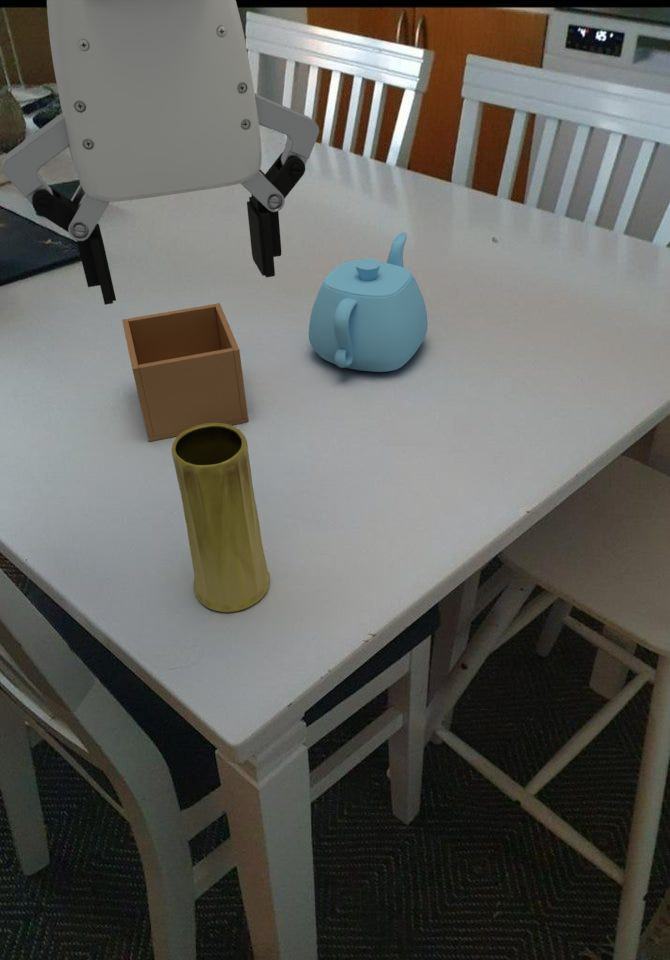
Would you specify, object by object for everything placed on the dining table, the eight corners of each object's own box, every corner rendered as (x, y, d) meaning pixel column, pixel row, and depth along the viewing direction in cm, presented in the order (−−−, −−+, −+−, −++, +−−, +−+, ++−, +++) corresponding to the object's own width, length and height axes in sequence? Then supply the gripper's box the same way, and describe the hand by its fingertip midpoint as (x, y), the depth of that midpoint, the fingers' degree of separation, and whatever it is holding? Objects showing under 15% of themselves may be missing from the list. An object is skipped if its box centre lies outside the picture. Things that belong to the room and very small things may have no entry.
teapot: (455, 235, 91) (394, 305, 79) (450, 320, 98) (393, 397, 85) (353, 220, 95) (280, 283, 83) (355, 302, 102) (288, 372, 90)
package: (148, 441, 81) (132, 368, 75) (137, 389, 88) (121, 319, 83) (248, 421, 83) (239, 349, 77) (229, 372, 90) (219, 302, 85)
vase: (241, 624, 62) (218, 481, 53) (178, 596, 65) (146, 455, 55) (284, 573, 66) (269, 432, 57) (223, 548, 69) (200, 410, 60)
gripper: (288, -70, 43) (305, 237, 54) (-52, -46, 40) (40, 279, 51) (330, -55, 38) (340, 283, 49) (-60, -25, 34) (45, 334, 45)
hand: (187, 281), depth 50 cm, fingers open, 9 cm apart
